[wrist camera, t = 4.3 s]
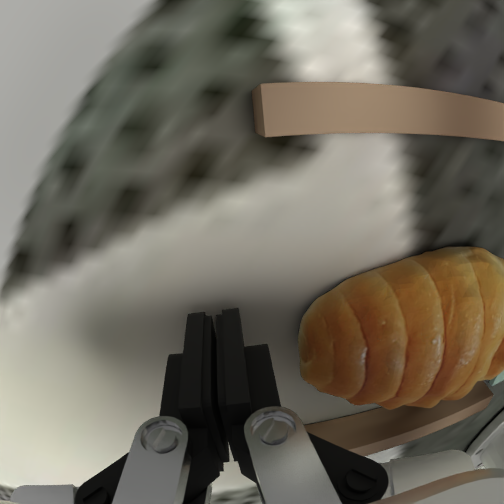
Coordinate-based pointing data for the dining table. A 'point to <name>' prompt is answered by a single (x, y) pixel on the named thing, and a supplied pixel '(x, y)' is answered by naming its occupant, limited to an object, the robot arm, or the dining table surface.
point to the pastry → (408, 330)
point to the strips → (497, 379)
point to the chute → (380, 121)
